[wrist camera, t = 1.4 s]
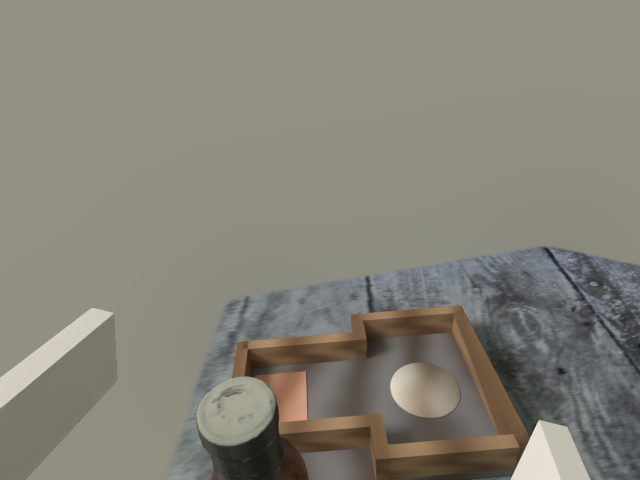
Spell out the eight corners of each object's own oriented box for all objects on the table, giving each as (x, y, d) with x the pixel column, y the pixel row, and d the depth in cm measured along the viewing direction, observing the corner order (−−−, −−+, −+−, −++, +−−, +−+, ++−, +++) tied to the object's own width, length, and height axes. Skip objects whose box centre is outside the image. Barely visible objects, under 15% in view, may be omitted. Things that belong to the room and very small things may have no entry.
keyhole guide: (457, 330, 53) (461, 305, 51) (525, 474, 37) (534, 446, 35) (246, 348, 52) (240, 323, 50) (225, 500, 37) (216, 473, 35)
